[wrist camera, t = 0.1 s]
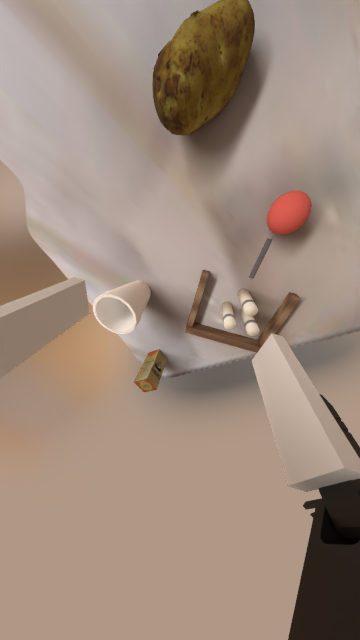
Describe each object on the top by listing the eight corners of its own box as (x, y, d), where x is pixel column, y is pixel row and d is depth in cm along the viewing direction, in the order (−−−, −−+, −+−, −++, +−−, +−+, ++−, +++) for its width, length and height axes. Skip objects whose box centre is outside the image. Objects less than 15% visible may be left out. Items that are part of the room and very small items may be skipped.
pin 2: (242, 305, 38) (250, 325, 31) (252, 308, 38) (262, 328, 31) (238, 313, 40) (244, 334, 32) (248, 316, 40) (256, 337, 32)
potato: (251, 116, 23) (268, 71, 16) (171, 155, 26) (157, 132, 20) (248, 16, 19) (268, -99, 12) (155, 79, 22) (130, 18, 16)
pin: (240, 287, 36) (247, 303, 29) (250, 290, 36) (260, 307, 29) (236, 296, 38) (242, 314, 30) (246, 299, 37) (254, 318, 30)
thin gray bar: (267, 238, 30) (267, 238, 30) (271, 239, 30) (271, 239, 30) (249, 277, 35) (249, 277, 34) (252, 278, 35) (252, 278, 34)
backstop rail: (203, 269, 36) (202, 273, 33) (295, 294, 35) (302, 299, 32) (186, 326, 45) (185, 332, 42) (259, 346, 44) (262, 353, 42)
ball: (273, 190, 26) (288, 182, 21) (307, 198, 26) (330, 192, 21) (257, 229, 30) (266, 230, 25) (287, 237, 29) (302, 239, 24)
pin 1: (223, 300, 39) (226, 318, 31) (233, 302, 39) (238, 321, 31) (220, 308, 40) (222, 328, 33) (229, 311, 40) (233, 331, 32)
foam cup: (140, 267, 38) (111, 284, 27) (163, 296, 41) (145, 322, 30) (117, 287, 42) (84, 308, 31) (139, 312, 45) (116, 339, 35)
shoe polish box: (159, 349, 52) (146, 378, 42) (167, 359, 54) (156, 389, 44) (148, 353, 54) (134, 382, 44) (156, 362, 56) (144, 392, 46)
